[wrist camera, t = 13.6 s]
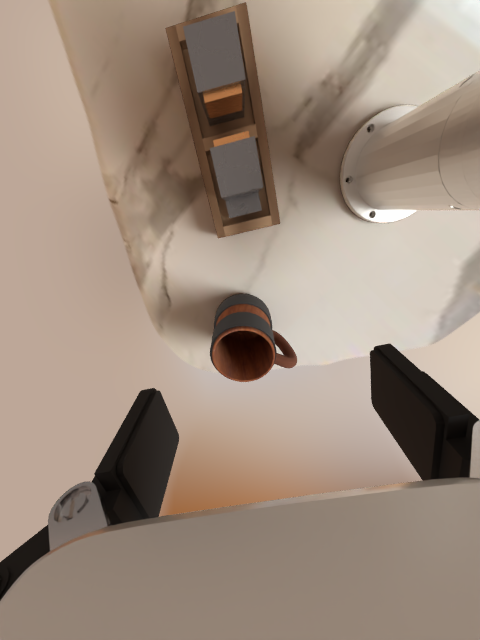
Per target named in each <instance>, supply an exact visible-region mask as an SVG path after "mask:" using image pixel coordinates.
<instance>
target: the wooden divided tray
mask: <svg viewBox="0 0 480 640" xmlns="http://www.w3.org/2000/svg"><path fill="white" fill-rule="evenodd" d="M233 11H235V16H236V22H237V28H238V34H239V41H240V47H241V53H242V60H243V66H244V72H245V79H246V82H245V110H244V118H240V119H236V120H232V121H229V122H225V123H221V124H217V125H214V126H210V125H209V123H208V120H207V117H206V115H205V112H204V109H203V106H202V104H201V101H200V98H199V96H198V93H197V88H196V84H195V79H194V75H193V70H192V66H191V61H190V57H189V52H188V47H187V43H186V38H185V34H184V29H183V26H187V25H190V24H193V23H197V22H200V21H203V20H206V19H210V18H213V17H216V16H220V15H223V14H226V13H230V12H233ZM166 32H167V36H168V40H169V44H170V48H171V52H172V56H173V60H174V64H175V68H176V72H177V76H178V80H179V84H180V88H181V92H182V96H183V100H184V104H185V108H186V112H187V116H188V120H189V124H190V128H191V132H192V136H193V140H194V144H195V148H196V152H197V156H198V160H199V164H200V168H201V172H202V176H203V180H204V184H205V188H206V192H207V196H208V200H209V204H210V208H211V212H212V216H213V220H214V224H215V228H216V232H217V236H218V238H222V237H226V236H230V235H235V234H239V233H243V232H247V231H251V230H256V229H260V228H264V227H268V226H272V225H276V224H280V219H279V212H278V206H277V199H276V193H275V186H274V180H273V173H272V167H271V160H270V154H269V147H268V141H267V134H266V128H265V121H264V115H263V108H262V102H261V95H260V89H259V82H258V76H257V69H256V63H255V56H254V50H253V43H252V37H251V30H250V24H249V17H248V11H247V5H246V2H245V3H242V4H239V5H236V6H233V7H230V8H227V9H224V10H220V11H217V12H214V13H211V14H208V15H205V16H202V17H199V18H196V19H193V20H189V21H186V22H183V23H180V24H177V25H174V26H171V27H168V28H166ZM245 131H249V136H250V137H253V136H255V141H256V147H257V152H258V158H259V164H260V170H261V176H262V182H263V188H262V189H261V190H260V191H259V198H260V203H261V209H262V210H261V211H257V212H253V213H249V214H245V215H241V216H237V217H233V218H229V214H228V210H227V205H226V201H225V200H224V199H222V198H221V195H220V190H219V186H218V182H217V177H216V173H215V169H214V164H213V160H212V156H211V151H210V148H213V147H214V143H213V140H216V139H220V138H224V137H227V136H231V135H235V134H238V133H242V132H245Z"/></svg>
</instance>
